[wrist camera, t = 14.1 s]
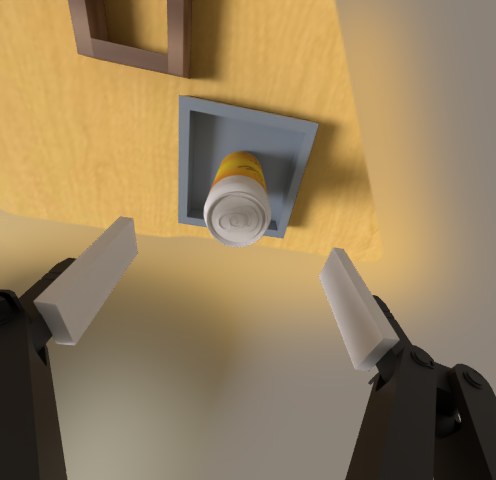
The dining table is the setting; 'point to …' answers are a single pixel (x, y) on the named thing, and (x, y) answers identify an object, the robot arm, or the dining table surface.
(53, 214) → the dining table surface
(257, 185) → the beer can
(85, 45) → the collar holder
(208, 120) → the tray
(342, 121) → the dining table surface
